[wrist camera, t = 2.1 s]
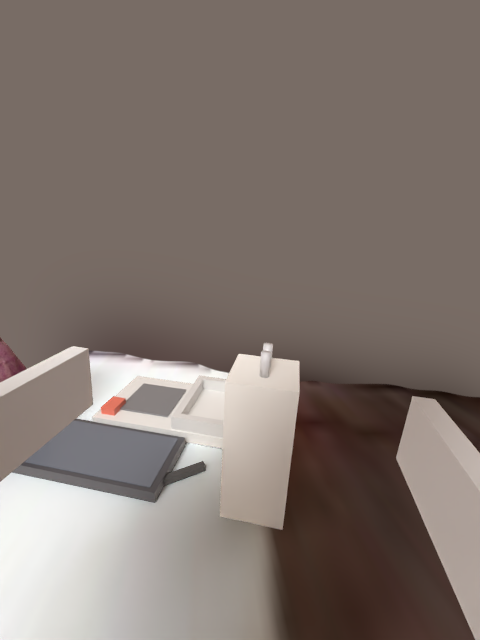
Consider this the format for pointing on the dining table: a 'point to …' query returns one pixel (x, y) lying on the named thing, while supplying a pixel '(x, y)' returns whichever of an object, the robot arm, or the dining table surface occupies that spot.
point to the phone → (107, 459)
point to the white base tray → (170, 409)
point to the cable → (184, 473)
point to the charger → (258, 438)
